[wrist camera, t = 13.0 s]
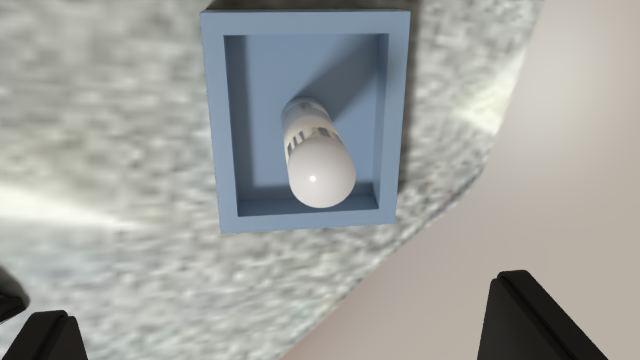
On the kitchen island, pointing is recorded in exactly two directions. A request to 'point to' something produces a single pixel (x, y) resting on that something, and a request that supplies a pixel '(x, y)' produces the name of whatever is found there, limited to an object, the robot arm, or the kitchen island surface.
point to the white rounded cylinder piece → (315, 154)
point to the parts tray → (294, 81)
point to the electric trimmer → (10, 307)
